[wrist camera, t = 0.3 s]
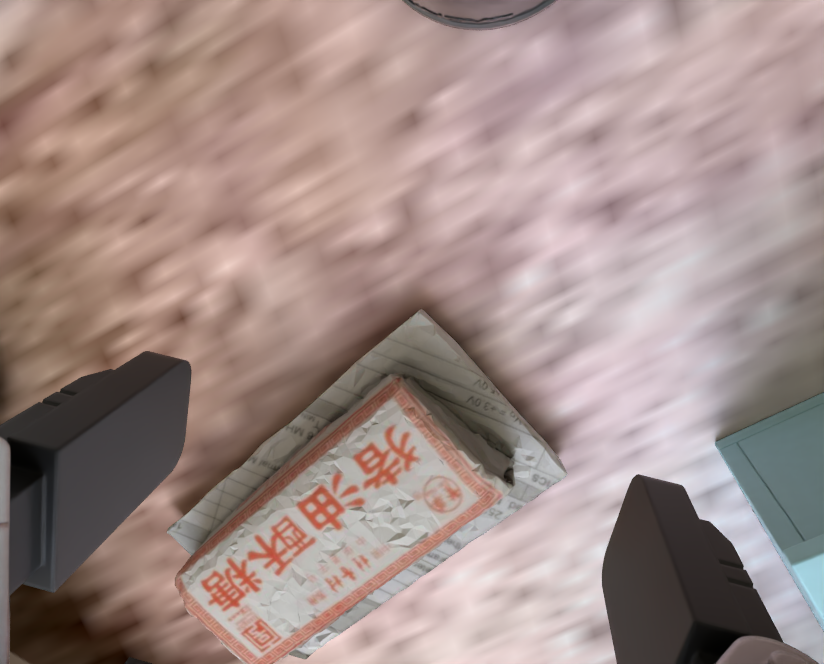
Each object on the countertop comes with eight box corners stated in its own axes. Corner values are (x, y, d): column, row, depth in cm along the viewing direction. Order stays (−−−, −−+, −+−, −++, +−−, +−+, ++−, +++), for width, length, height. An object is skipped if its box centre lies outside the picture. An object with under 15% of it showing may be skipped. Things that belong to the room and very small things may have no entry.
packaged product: (278, 719, 32) (125, 577, 30) (308, 643, 36) (175, 518, 35) (578, 516, 26) (405, 333, 25) (568, 457, 31) (422, 300, 29)
